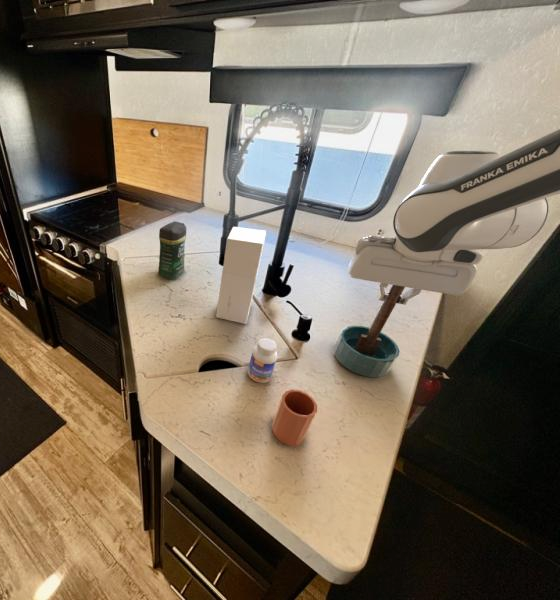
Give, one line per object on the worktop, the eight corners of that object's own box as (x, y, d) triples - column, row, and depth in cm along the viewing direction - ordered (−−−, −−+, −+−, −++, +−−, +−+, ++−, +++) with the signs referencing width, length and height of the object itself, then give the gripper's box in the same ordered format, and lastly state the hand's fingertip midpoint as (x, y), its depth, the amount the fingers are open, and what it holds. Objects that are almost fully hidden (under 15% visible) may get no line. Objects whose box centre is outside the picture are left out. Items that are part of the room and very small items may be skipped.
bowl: (383, 349, 80) (393, 332, 77) (393, 384, 71) (405, 366, 68) (331, 338, 84) (339, 321, 81) (334, 370, 75) (343, 352, 71)
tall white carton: (215, 317, 91) (226, 238, 77) (222, 301, 98) (232, 226, 84) (246, 324, 89) (263, 244, 74) (250, 307, 95) (266, 230, 81)
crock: (303, 423, 63) (316, 394, 58) (303, 450, 58) (317, 422, 53) (273, 413, 65) (283, 385, 60) (270, 439, 60) (281, 411, 55)
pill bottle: (247, 380, 72) (254, 350, 66) (247, 364, 76) (254, 334, 71) (271, 385, 71) (281, 355, 65) (270, 368, 75) (279, 338, 70)
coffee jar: (174, 282, 107) (176, 232, 96) (155, 276, 111) (154, 226, 100) (187, 271, 114) (190, 222, 103) (169, 265, 117) (170, 217, 106)
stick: (371, 351, 76) (409, 283, 65) (373, 357, 75) (412, 288, 63) (353, 347, 78) (387, 279, 66) (354, 353, 76) (389, 284, 64)
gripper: (363, 240, 60) (339, 298, 68) (495, 258, 54) (452, 320, 62) (358, 228, 65) (336, 284, 73) (480, 243, 59) (441, 302, 67)
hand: (390, 301), depth 67 cm, fingers closed on stick, 2 cm apart
